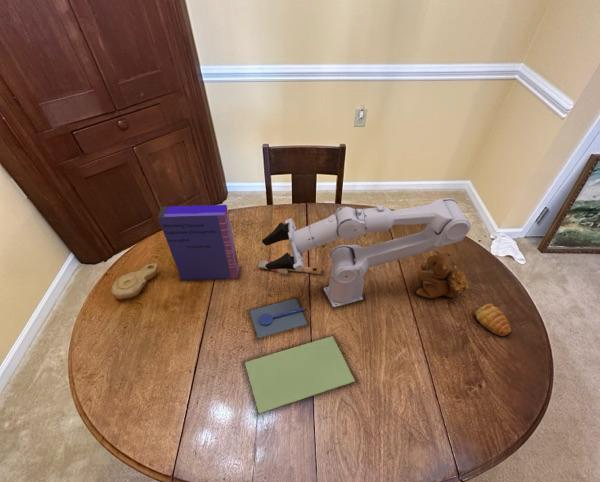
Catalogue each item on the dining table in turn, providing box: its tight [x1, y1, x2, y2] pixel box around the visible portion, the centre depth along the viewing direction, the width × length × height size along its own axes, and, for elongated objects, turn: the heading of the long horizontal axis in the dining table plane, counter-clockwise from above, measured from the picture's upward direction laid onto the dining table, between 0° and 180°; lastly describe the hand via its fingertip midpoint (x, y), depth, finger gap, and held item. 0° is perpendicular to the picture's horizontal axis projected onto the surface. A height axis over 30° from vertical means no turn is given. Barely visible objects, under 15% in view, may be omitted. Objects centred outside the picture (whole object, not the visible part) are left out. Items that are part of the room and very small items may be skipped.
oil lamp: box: [111, 263, 159, 300], centre depth 105 cm, size 11×14×5 cm
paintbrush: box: [257, 259, 322, 275], centre depth 110 cm, size 4×3×20 cm
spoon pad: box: [249, 298, 308, 339], centre depth 98 cm, size 14×10×1 cm
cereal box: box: [157, 204, 240, 281], centre depth 102 cm, size 17×5×24 cm, turn 92°
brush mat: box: [244, 335, 356, 415], centre depth 86 cm, size 24×14×1 cm, turn 109°
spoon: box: [258, 306, 306, 326], centre depth 98 cm, size 14×4×1 cm, turn 109°
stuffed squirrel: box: [415, 251, 470, 299], centre depth 100 cm, size 10×14×13 cm
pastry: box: [474, 303, 512, 337], centre depth 94 cm, size 9×7×4 cm
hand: (265, 255), depth 91 cm, fingers open, 7 cm apart
